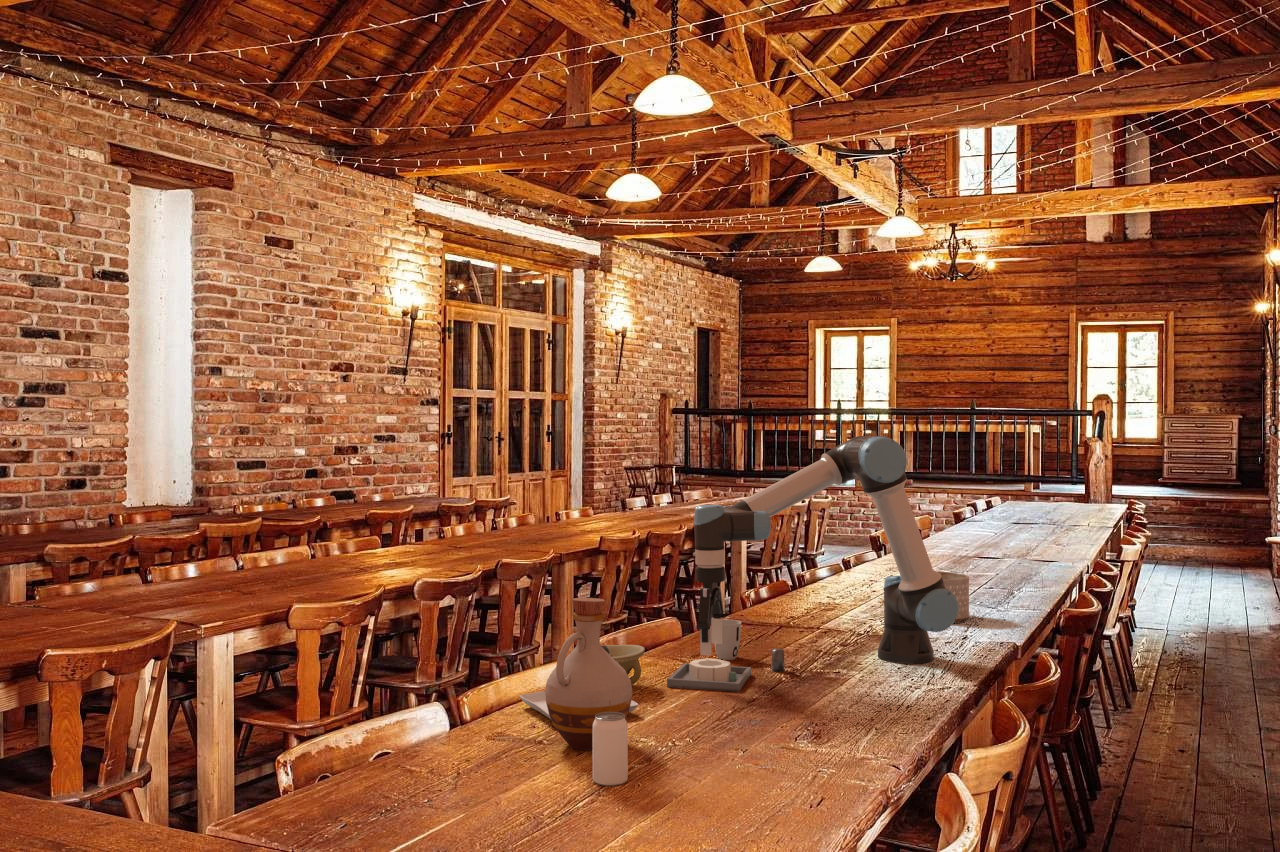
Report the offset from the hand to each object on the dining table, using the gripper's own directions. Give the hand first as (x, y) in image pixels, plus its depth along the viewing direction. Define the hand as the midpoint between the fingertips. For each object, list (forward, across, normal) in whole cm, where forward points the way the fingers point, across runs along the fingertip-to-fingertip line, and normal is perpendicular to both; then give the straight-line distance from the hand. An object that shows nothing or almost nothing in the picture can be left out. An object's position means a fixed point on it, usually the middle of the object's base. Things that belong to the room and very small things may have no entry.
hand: (711, 649), depth 274 cm
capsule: (+8, -16, +14) cm, 23 cm away
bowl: (+8, +12, -24) cm, 28 cm away
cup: (+8, -27, -2) cm, 28 cm away
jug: (+8, +60, -14) cm, 62 cm away
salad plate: (+8, +36, -24) cm, 44 cm away
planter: (+10, -104, +56) cm, 118 cm away
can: (+8, +79, -2) cm, 80 cm away
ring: (+8, 0, 0) cm, 8 cm away
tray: (+8, 0, 0) cm, 8 cm away
